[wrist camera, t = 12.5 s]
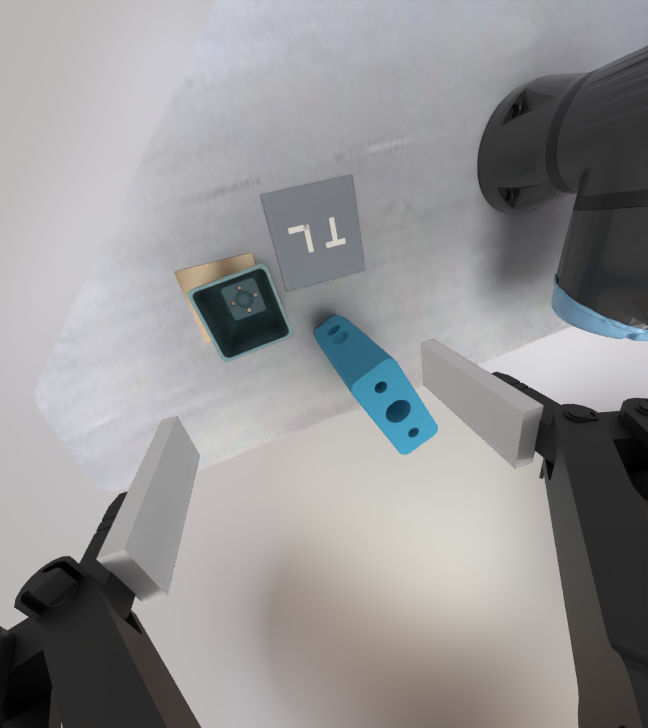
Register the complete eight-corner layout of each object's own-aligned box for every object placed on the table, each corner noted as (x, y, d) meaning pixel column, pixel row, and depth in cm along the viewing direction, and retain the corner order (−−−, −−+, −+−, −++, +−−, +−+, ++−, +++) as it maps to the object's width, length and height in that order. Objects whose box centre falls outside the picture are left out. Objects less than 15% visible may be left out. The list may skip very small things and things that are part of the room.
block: (304, 323, 43) (347, 388, 26) (330, 303, 43) (391, 354, 25) (345, 375, 49) (403, 457, 31) (369, 358, 48) (440, 430, 31)
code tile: (351, 174, 36) (352, 174, 36) (364, 269, 42) (365, 270, 42) (260, 195, 35) (260, 195, 35) (286, 291, 40) (286, 291, 40)
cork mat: (252, 252, 37) (252, 252, 37) (274, 323, 42) (274, 323, 42) (174, 271, 36) (174, 272, 36) (206, 342, 40) (205, 343, 40)
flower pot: (196, 278, 37) (183, 292, 29) (260, 255, 37) (265, 261, 29) (227, 338, 41) (224, 364, 33) (285, 315, 41) (295, 335, 34)
